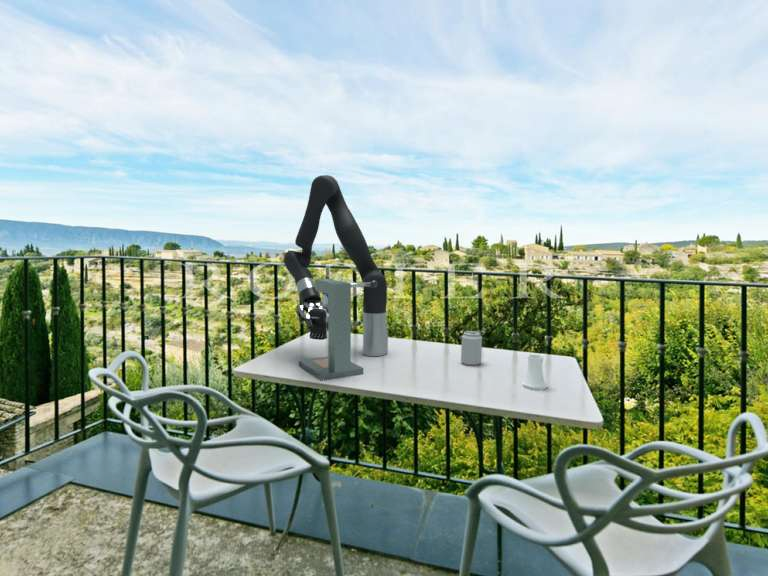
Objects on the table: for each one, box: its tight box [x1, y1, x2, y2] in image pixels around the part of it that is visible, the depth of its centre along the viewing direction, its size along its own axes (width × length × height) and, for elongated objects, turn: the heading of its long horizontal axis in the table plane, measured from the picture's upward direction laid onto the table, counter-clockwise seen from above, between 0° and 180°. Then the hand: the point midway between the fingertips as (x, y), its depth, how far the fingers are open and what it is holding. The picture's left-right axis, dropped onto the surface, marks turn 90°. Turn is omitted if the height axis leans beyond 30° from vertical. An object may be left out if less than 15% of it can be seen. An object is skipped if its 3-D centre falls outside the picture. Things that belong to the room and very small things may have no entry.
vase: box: [521, 354, 547, 391], centre depth 158 cm, size 8×8×10 cm
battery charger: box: [309, 308, 328, 341], centre depth 182 cm, size 7×4×11 cm, turn 69°
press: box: [298, 278, 378, 381], centre depth 176 cm, size 27×20×32 cm
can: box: [460, 330, 483, 367], centre depth 185 cm, size 8×8×12 cm
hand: (320, 327), depth 181 cm, fingers closed on battery charger, 6 cm apart
